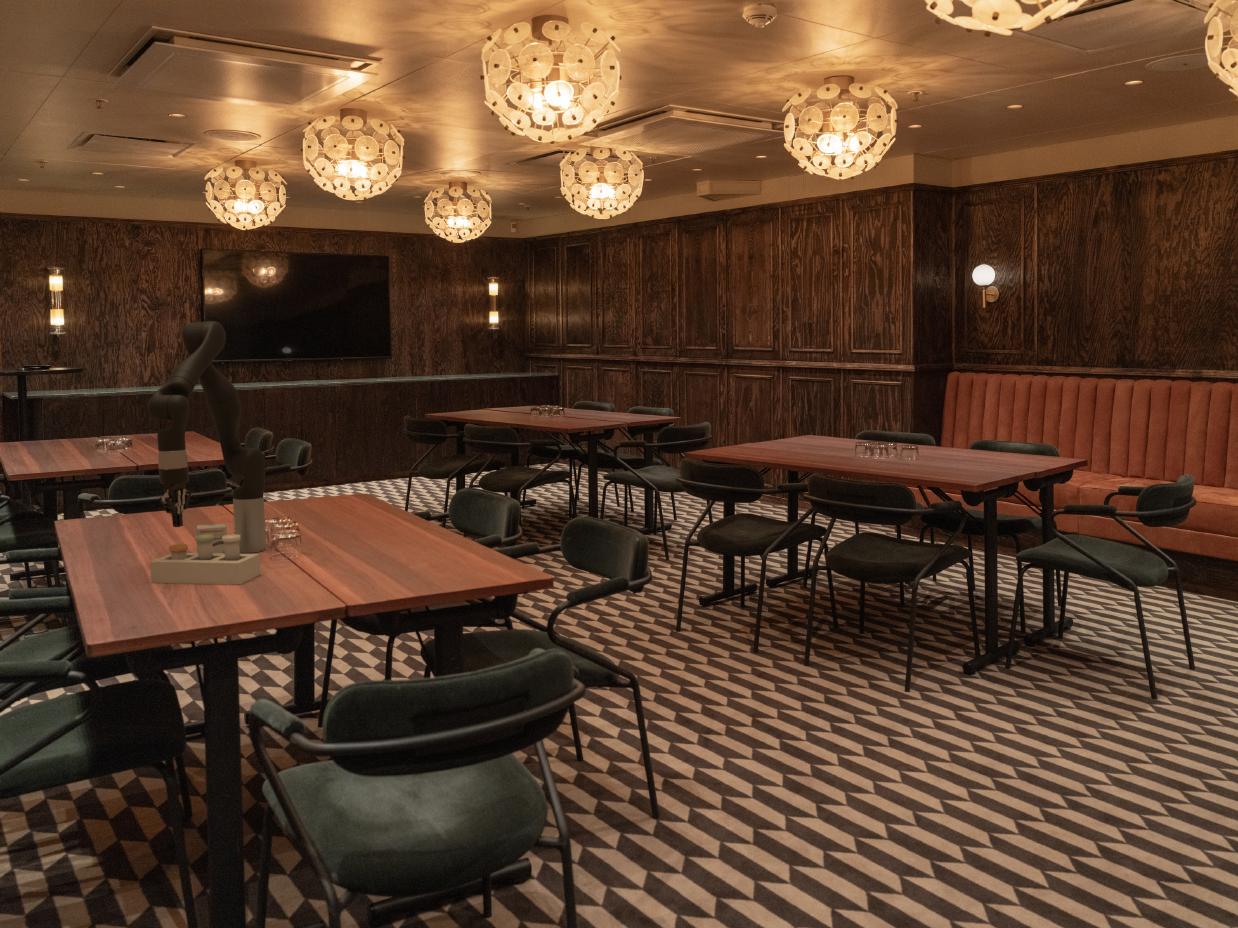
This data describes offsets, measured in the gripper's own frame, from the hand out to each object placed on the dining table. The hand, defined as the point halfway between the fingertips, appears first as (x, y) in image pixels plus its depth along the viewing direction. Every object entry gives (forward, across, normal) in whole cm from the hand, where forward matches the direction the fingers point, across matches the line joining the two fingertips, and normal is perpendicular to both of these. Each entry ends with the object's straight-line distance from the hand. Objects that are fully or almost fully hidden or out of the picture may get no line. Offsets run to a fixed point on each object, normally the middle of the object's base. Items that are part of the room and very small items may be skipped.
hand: (177, 526), depth 278 cm
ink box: (+15, -18, 0) cm, 23 cm away
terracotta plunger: (+14, 0, 0) cm, 14 cm away
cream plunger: (+11, 0, +16) cm, 19 cm away
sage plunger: (+11, 0, +8) cm, 13 cm away
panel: (+15, 0, +8) cm, 17 cm away
